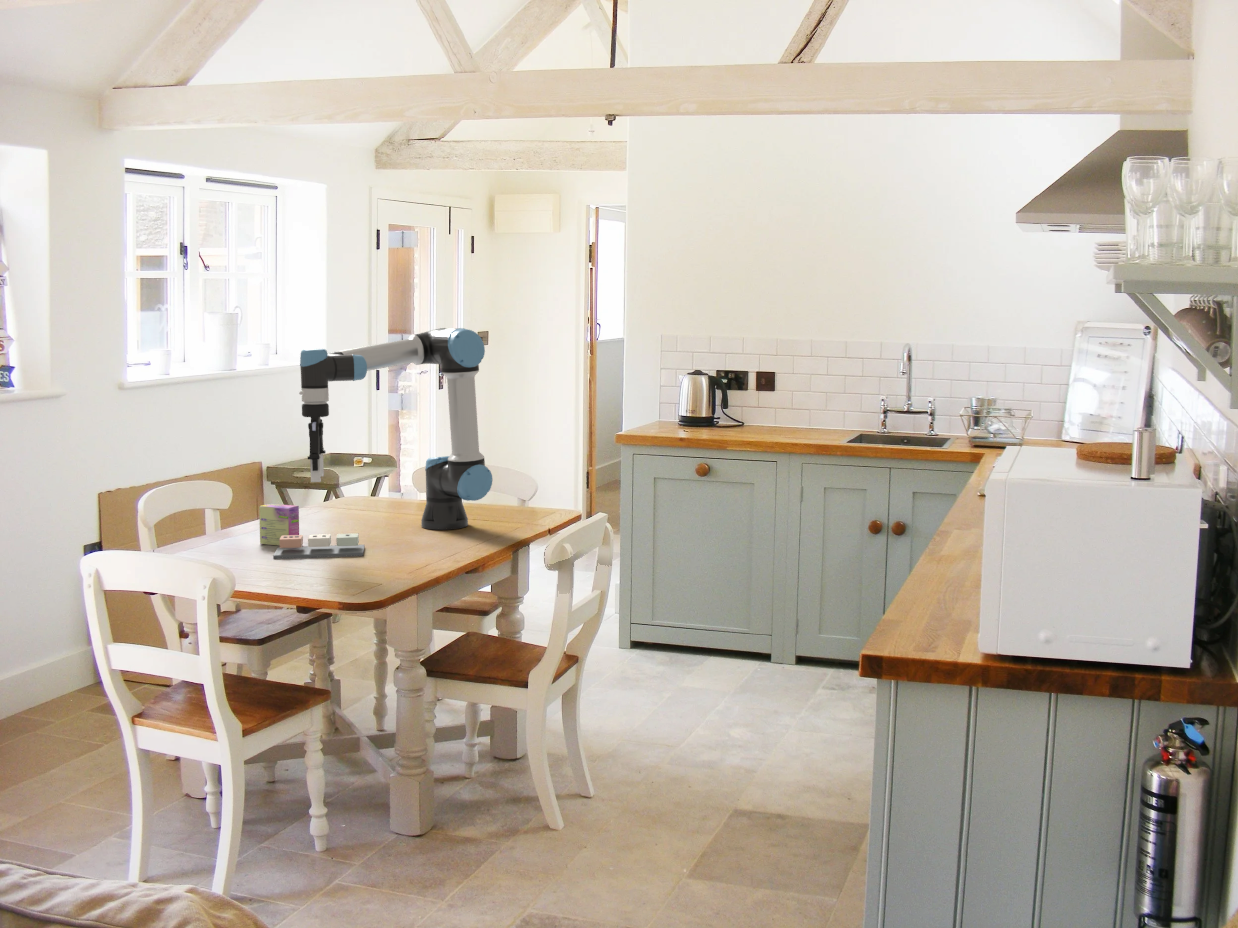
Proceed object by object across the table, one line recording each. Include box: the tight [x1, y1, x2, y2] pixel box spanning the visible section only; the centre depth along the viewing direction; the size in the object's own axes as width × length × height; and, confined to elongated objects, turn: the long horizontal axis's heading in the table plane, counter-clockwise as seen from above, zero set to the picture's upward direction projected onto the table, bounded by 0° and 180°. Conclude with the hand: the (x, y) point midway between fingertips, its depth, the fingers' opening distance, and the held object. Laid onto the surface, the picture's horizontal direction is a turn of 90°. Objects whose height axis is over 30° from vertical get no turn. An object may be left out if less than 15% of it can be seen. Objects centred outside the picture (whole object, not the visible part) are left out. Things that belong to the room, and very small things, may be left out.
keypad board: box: [272, 544, 365, 560], centre depth 349 cm, size 25×12×1 cm, turn 100°
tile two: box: [307, 533, 332, 547], centre depth 349 cm, size 6×6×3 cm
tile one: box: [336, 532, 360, 546], centre depth 350 cm, size 6×6×3 cm
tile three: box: [279, 534, 304, 548], centre depth 347 cm, size 6×6×3 cm
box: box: [258, 503, 300, 547], centre depth 362 cm, size 10×6×12 cm, turn 71°
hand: (317, 479), depth 346 cm, fingers open, 10 cm apart
